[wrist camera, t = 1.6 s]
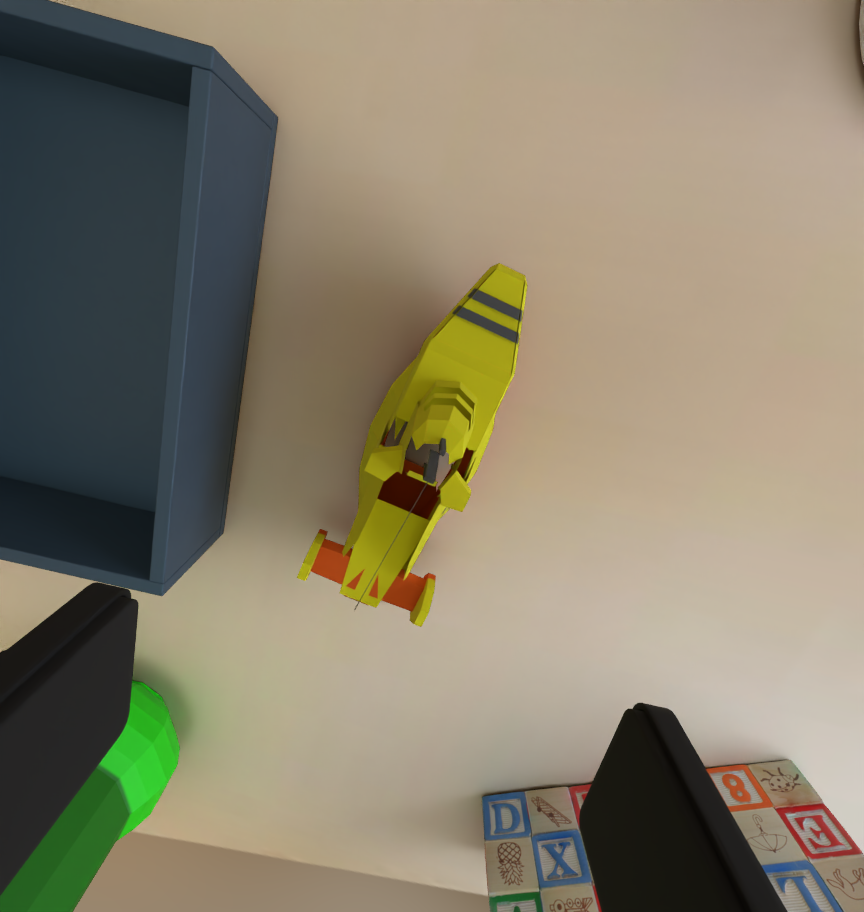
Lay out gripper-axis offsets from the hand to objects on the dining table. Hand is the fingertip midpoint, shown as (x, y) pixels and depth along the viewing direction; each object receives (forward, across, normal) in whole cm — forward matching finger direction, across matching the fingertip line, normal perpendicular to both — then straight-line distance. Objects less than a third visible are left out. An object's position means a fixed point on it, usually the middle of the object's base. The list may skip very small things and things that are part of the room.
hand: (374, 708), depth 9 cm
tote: (+19, +18, -3) cm, 26 cm away
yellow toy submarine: (+19, 0, -1) cm, 19 cm away
